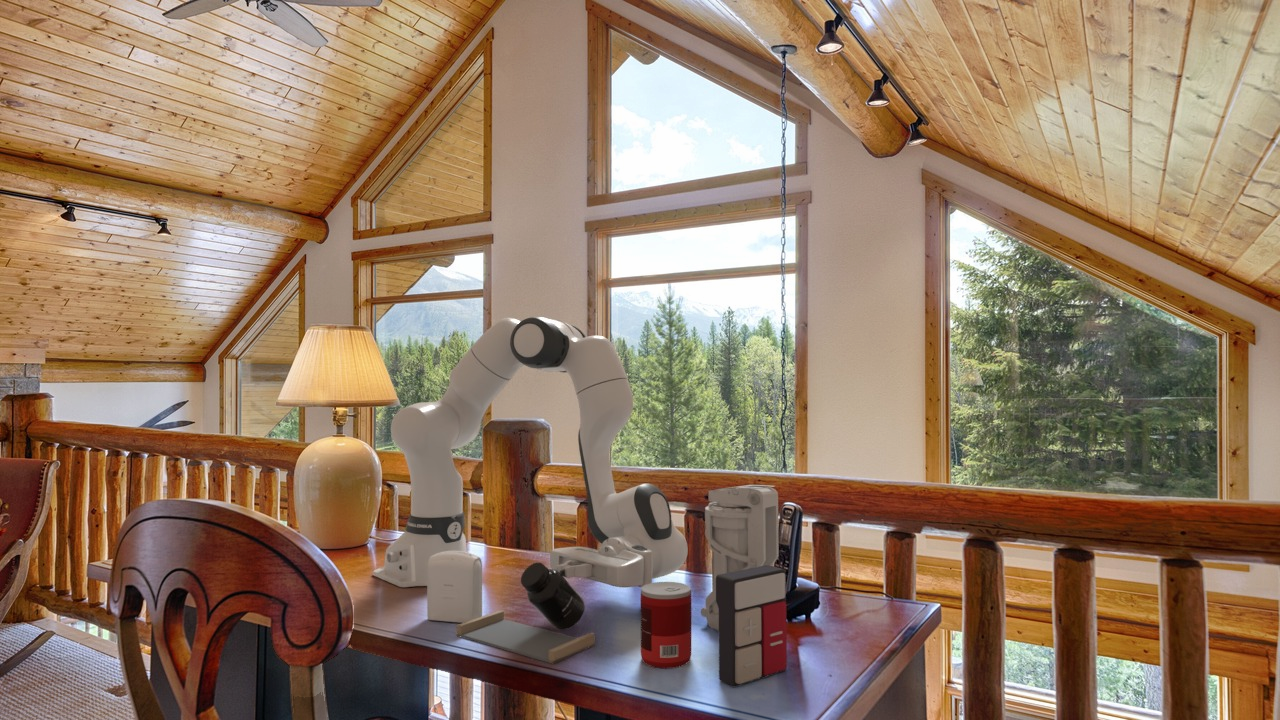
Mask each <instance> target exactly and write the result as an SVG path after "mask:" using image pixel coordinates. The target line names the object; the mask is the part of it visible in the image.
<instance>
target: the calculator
mask: <svg viewBox="0 0 1280 720" xmlns="http://www.w3.org/2000/svg"><path fill="white" fill-rule="evenodd" d="M786 592H787V591H786V570H785V569H784V568H780V567H777V566H773V565H772V566H770V565H764V566H759V567H754V568H749V569H744V570H739V571H734V572H729V573H724V574H719V575H717V576H716V602H717V605H718V608H719V631H718V679H719V681H720V682H722V683H724V684H726V685H729V686H730V687H733V688H736V687H739V686H742V685H745V684H748V683H751V682H753V681H757V680H759V679H760V680H761V679H763V678H767V677H769V676H772V675H775V674H778V673H782V672H785V670H786V669H787V668H788V663H787V662H788V658H787V657H788V653H787V652H788V650H787V649H788V645H787V643H788V642H787V639H788V637H787V633H788V632H787V626H788V625H787V602H786V598H787V597H786V596H787V595H786Z"/></svg>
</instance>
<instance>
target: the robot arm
mask: <svg viewBox="0 0 1280 720" xmlns="http://www.w3.org/2000/svg"><path fill="white" fill-rule="evenodd" d="M523 366H526V367H528V368H531V369H537V370H540V371H544V372H549V373H550V372H551V373H552V372H556V373H557V372H559V373H567V374H568V375H569V376H570V378H571V381H572V384H573V386H574V391H575V394H576V397H577V401H578V407H579V416H580V421H579V423H580V424H579V429H578V432H577V433H578V434H577V435H578V437H577V440H578V441H577V442H578V448H579V449H578V450H579V456H580V461H581V468H582V474H583V480H584V484H585V485H584V486H585V491H586V497H587V524H588V528H589V531H590V532H591V534H592V536H593V537H594V538H595V539H596V540H597V542H599V543H600V544H601V545H600V546H599V548H598V549H595V548H592V547H591V548H590V547H587V546H586V547H585V546H569V547H559V548H553V549H551V551H550V552H549V554H550V555H549V569H553V570H556V571H558V572H559V573H560V574H561V575H562V576H563V577H564V578H565V579H566V578H567V579H570V578H571V579H572V578H583V579H587V580H591V581H594V582H598V583H602V584H604V585H608V586H612V587H615V588H623V589H624V588H633V587H639V588H642V587H643V586H644V585H647V584H650V583H653V582H652V581H653V579H658V578H661V577H662V578H663V577H665V576H668V575H670V574H672V573H674V572H676V571H678V570H679V569H680V568H681V567H682V566H683V565H684V563H685V562H686V559H687V557H688V549H689V548H688V543H687V540H686V538H685V536H684V534H683V533H682V532H680V530H679V529H678V528H677V527H676V526H675V524H674V522H673V519H672V511H671V508H670V507H671V506H670V503H669V500H668V498H667V496H666V494H664V492H663V491H662V490H661V489H660V488H658V486H656V485H654V484H651V483H648V482H647V483H641V484H639V485H636V486H633V487H630V488H628V489H625V490H624V491H621V492H618V493H617V491H616V488H615V482H614V478H613V471H612V466H611V460H610V450H611V446H612V444H613V442H614V441H615V439H616V436H618V434H619V432H621V431H622V429H623V428H624V427H625V426H626V424H627V423H628V422H629V420H630V418H631V416H632V414H633V411H634V396H633V392H632V388H631V385H630V382H629V380H628V376H627V374H626V370H625V368H624V366H623V363H622V361H621V358H620V356H619V354H618V352H617V350H616V349H615V346H614V345H613V343H612V341H611V340H609V338H606V337H605V336H603V335H589V336H586V334H585V333H584V332H583V331H582V330H580V329H579V328H578V327H577V326H575V325H571V324H569V323H567V322H565V321H561V320H558V319H553V318H552V319H551V318H547V317H543V316H531V317H527V318H524V319H523V320H520V319H517V318H514V317H504V318H501V319H499V320H498V321H497V322H495V323H494V324H493V325H492V326H491V327H489V328H488V329H487V330H486V331H485V332H484V333H483V334H482V335H481V336H480V337H479V338H478V339H477V340H476V341H474V343H473V344H472V346H471V347H470V348H469V349H468V351H467V352H465V354H464V355H463V357H462V358H461V359H460V360H459V361H458V363H456V365H455V366H454V368H453V369H452V370H451V371H450V373H449V384H448V386H447V389H446V391H445V392H444V394H443V395H442V396H441V398H439V399H438V400H436V401H429V402H427V401H426V402H424V401H423V402H416V403H413V404H410V405H407V406H405V407H403V408H401V409H400V410H398V411H397V412H396V413H395V415H394V416H393V418H392V421H391V424H390V434H391V438H392V441H393V442H394V443H395V445H396V446H397V447H398V448H399V449H400V451H401V452H402V454H403V455H404V458H405V463H406V464H407V465H406V466H407V469H408V473H409V478H410V498H411V500H410V502H411V503H410V508H411V509H410V514H409V516H408V515H407V516H404V517H403V519H405V520H403V521H402V522H403V523H406V525H405V529H404V530H405V531H404V532H403V533H402V534H401V535H400V536H399V537H398V538H396V540H394V541H393V542H392V543H391V544H390V545H389V546H388V547H387V548H386V551H385V556H384V566H381V567H379V568H376V569H374V570H373V572H372V573H373V574H372V575H373V576H374V577H375V578H378V579H380V580H383V581H386V582H387V583H390V584H392V585H395V586H397V587H399V588H410V587H427V566H428V561H429V559H430V557H431V556H432V555H434V554H437V553H440V552H444V551H463V552H468V550H467V539H466V535H465V534H464V529H465V525H466V523H465V522H466V518H465V512H464V511H463V507H464V506H463V505H464V504H463V501H464V499H463V497H464V495H463V494H464V491H463V490H464V489H463V488H464V485H463V483H464V482H463V481H464V479H463V477H462V475H461V473H460V472H459V471H458V470H457V468H456V465H455V463H454V459H453V453H452V450H456V449H460V448H462V447H465V446H466V445H469V444H470V443H471V442H472V441H474V440H475V439H476V438H477V437H478V435H479V433H480V430H481V422H482V420H483V418H484V415H485V414H486V412H487V411H488V408H489V407H490V406H491V404H492V403H493V401H494V400H495V399H496V398H497V396H498V395H499V394H500V393H501V392H502V390H504V388H505V387H506V386H507V385H508V383H510V381H511V379H512V378H513V377H514V376H515V375H516V374H517V373H518V372H519V370H520V369H521V368H522V367H523Z"/></svg>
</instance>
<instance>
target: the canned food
mask: <svg viewBox="0 0 1280 720" xmlns="http://www.w3.org/2000/svg"><path fill="white" fill-rule="evenodd" d="M640 656H641V661H642V662H643V663H644V664H646V665H647V666H649V665H650V667H652V666H653V668H657V667H658V668H659V669H674V668H675V669H676V668H679V666H680V667H682V665H683V666H685V665H687V664H686V663H689V662H690V659H691V656H692V588H691V586H689V585H688V584H685V583H682V582H676V581H657V582H656V581H655V582H652V583H650V584H647V585H644V586H643V587H640Z"/></svg>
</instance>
